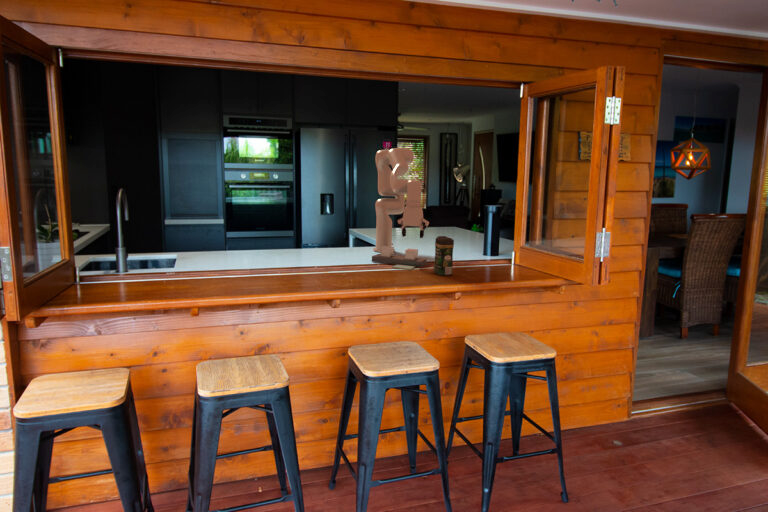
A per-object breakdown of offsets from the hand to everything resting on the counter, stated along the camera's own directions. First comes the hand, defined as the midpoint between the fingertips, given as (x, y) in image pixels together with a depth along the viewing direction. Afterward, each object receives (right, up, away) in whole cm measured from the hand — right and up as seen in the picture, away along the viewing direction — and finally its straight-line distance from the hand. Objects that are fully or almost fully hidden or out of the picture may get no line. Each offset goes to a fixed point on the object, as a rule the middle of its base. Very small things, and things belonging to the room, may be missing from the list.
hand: (412, 237), depth 274 cm
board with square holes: (-7, -14, +6) cm, 16 cm away
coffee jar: (+14, -19, -18) cm, 29 cm away
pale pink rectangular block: (-1, -14, +3) cm, 15 cm away
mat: (-5, -16, -6) cm, 18 cm away
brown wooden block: (-13, -13, +9) cm, 21 cm away
